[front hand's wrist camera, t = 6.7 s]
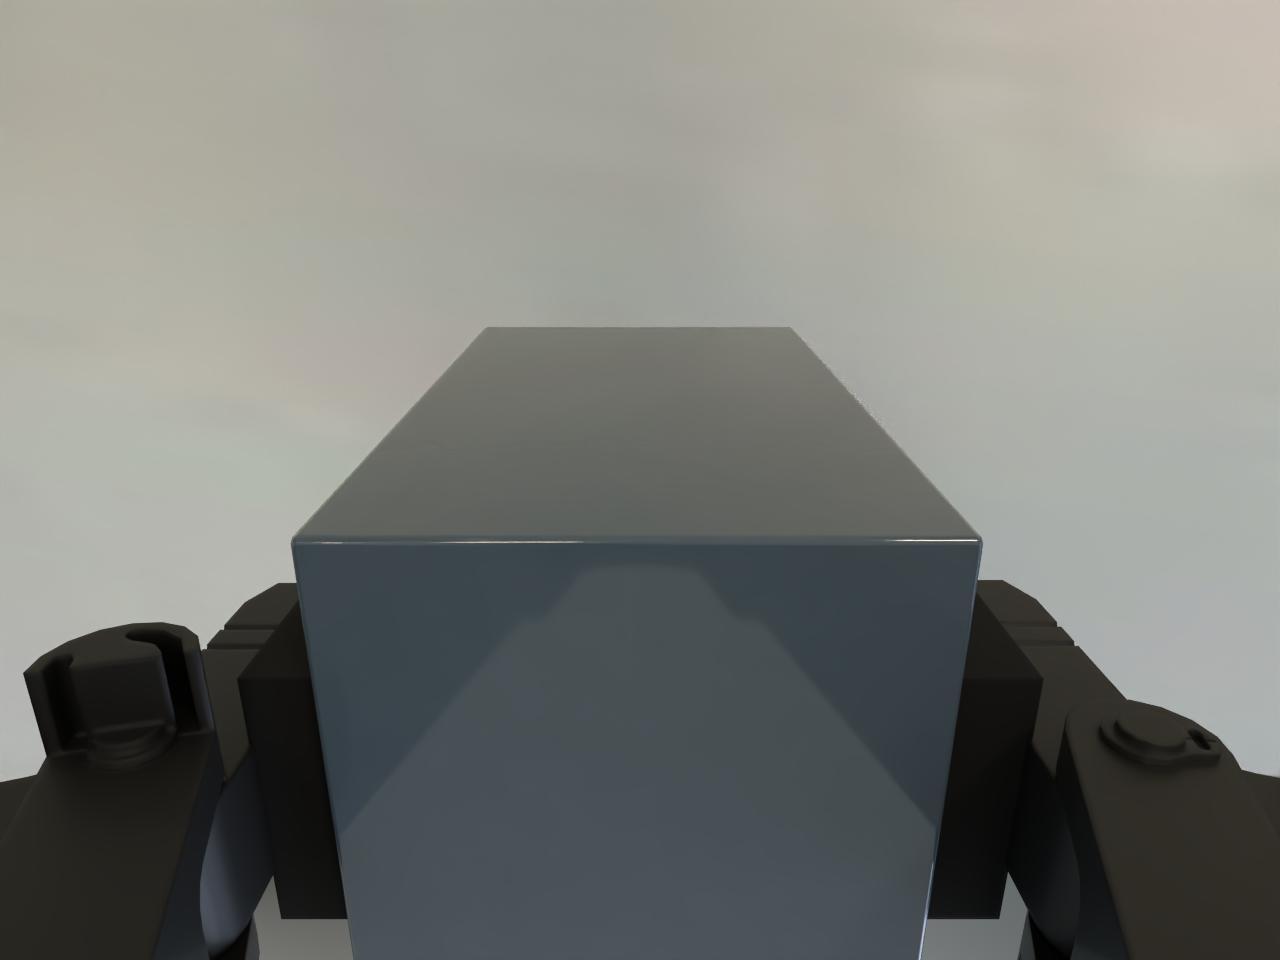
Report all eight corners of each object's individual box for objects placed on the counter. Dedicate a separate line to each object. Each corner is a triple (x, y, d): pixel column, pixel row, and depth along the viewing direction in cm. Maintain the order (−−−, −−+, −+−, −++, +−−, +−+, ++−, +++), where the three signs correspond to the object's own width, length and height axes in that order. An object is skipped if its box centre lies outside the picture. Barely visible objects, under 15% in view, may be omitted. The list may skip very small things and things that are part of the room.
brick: (484, 326, 15) (286, 539, 7) (792, 326, 15) (986, 539, 7) (502, 610, 17) (365, 1054, 9) (775, 610, 17) (909, 1055, 9)
